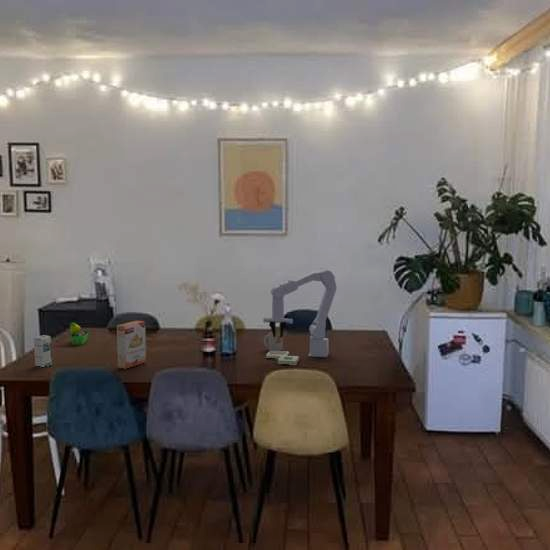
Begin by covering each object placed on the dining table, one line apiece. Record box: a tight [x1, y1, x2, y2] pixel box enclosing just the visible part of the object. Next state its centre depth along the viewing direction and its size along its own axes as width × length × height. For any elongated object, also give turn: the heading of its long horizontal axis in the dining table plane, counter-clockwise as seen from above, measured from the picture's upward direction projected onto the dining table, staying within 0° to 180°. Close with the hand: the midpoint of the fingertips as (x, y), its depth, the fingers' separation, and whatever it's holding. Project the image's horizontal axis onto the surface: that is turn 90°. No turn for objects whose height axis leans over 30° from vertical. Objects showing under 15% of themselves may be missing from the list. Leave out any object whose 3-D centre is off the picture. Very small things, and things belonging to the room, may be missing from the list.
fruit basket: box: [69, 322, 90, 346], centre depth 376 cm, size 11×9×11 cm
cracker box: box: [116, 320, 147, 370], centre depth 329 cm, size 14×6×21 cm, turn 148°
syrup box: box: [33, 334, 53, 368], centre depth 330 cm, size 6×6×14 cm
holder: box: [277, 355, 300, 366], centre depth 335 cm, size 9×9×2 cm
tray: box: [265, 350, 290, 360], centre depth 345 cm, size 10×9×2 cm
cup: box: [263, 331, 283, 351], centre depth 359 cm, size 7×10×9 cm
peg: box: [275, 326, 281, 343], centre depth 343 cm, size 3×3×8 cm
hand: (278, 336), depth 344 cm, fingers closed on peg, 3 cm apart
